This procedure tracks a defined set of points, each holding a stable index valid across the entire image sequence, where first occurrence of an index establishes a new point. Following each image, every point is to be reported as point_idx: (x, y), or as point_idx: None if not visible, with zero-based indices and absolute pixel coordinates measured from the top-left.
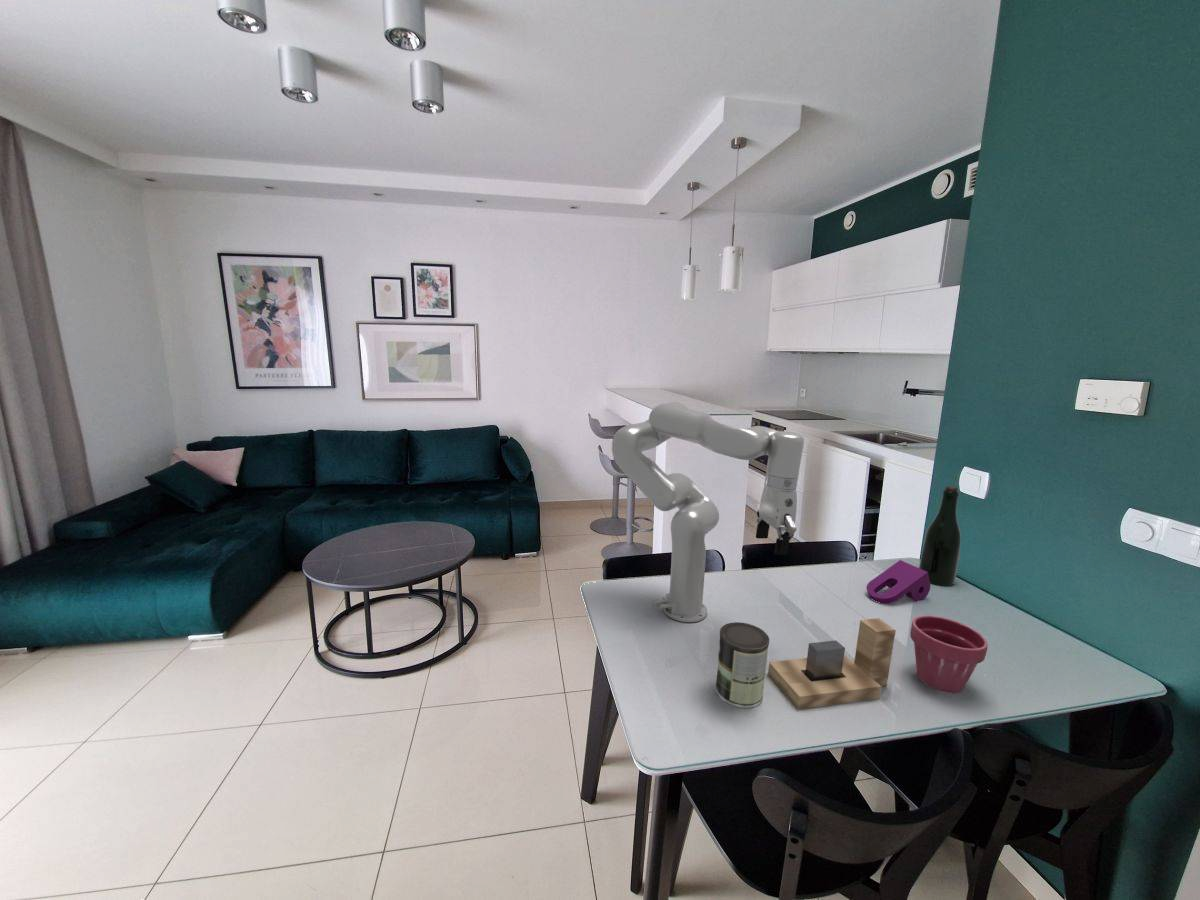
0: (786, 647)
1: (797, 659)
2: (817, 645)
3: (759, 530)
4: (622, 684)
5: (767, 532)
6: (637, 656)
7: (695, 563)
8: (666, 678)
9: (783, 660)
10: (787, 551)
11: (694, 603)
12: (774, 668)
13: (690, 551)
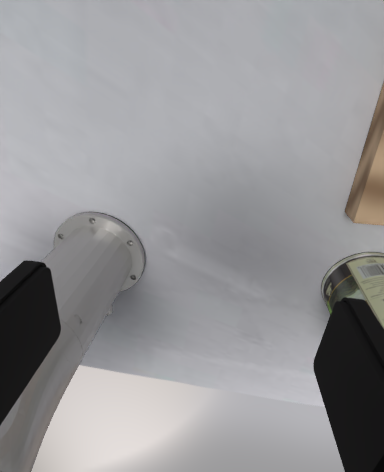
0: (279, 107)
1: (378, 153)
2: None
3: (23, 380)
4: (276, 396)
5: (20, 305)
6: (224, 364)
7: (74, 358)
8: (285, 354)
9: (364, 189)
10: (372, 313)
11: (121, 273)
12: (376, 224)
13: (55, 408)
